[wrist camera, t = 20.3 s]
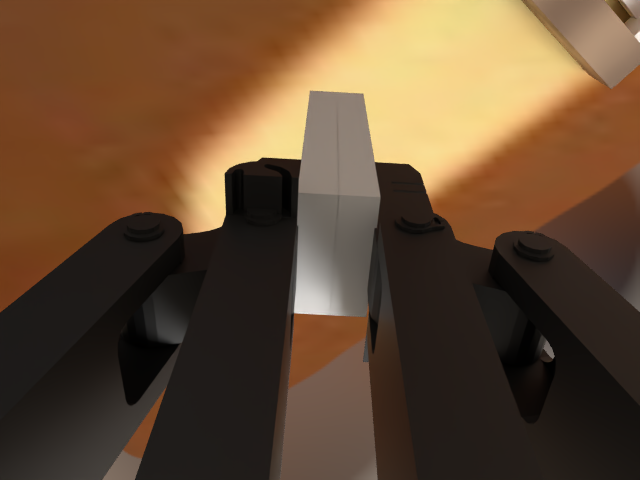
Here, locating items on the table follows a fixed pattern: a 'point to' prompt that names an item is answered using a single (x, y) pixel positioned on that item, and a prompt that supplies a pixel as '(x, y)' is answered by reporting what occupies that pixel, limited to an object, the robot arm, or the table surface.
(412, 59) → the table surface
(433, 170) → the table surface
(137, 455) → the table surface
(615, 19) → the brown long bar
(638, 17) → the corral
